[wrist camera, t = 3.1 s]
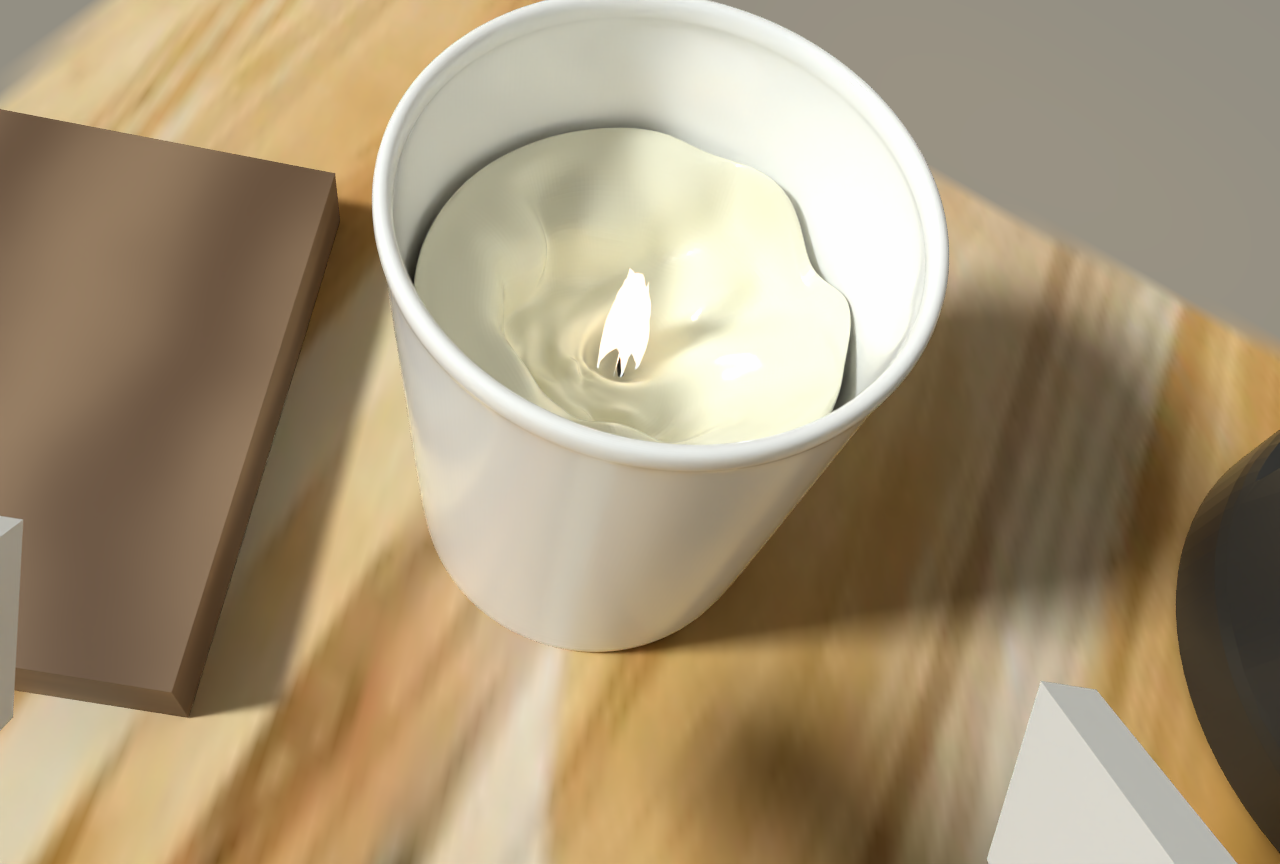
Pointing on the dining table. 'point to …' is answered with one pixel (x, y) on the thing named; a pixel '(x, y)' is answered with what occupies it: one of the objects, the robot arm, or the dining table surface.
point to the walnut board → (141, 390)
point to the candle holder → (641, 300)
